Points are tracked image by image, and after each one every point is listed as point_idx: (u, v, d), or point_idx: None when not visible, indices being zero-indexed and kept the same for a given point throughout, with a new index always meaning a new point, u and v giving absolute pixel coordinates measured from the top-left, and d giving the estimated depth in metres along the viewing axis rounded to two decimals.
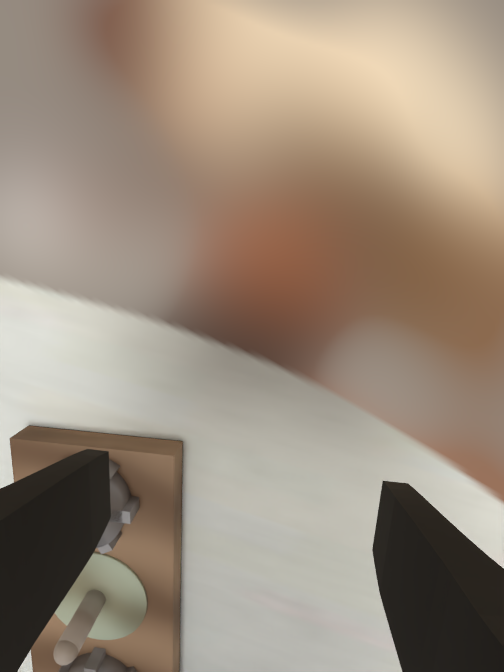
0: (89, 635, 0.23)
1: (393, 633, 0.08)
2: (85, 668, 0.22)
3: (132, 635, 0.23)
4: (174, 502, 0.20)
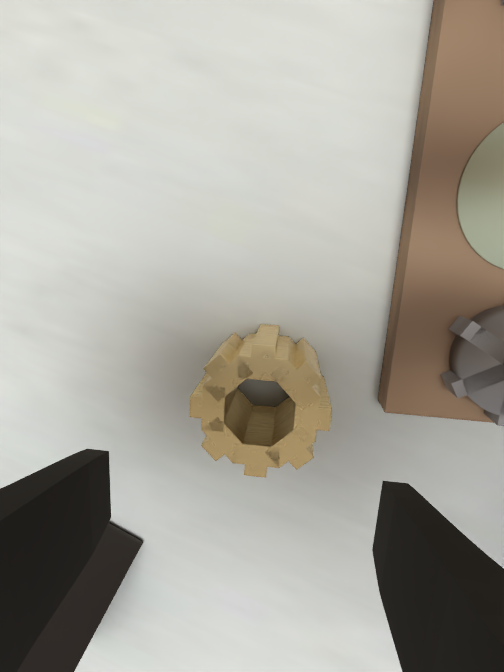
0: None
1: (393, 633, 0.08)
2: None
3: None
4: None
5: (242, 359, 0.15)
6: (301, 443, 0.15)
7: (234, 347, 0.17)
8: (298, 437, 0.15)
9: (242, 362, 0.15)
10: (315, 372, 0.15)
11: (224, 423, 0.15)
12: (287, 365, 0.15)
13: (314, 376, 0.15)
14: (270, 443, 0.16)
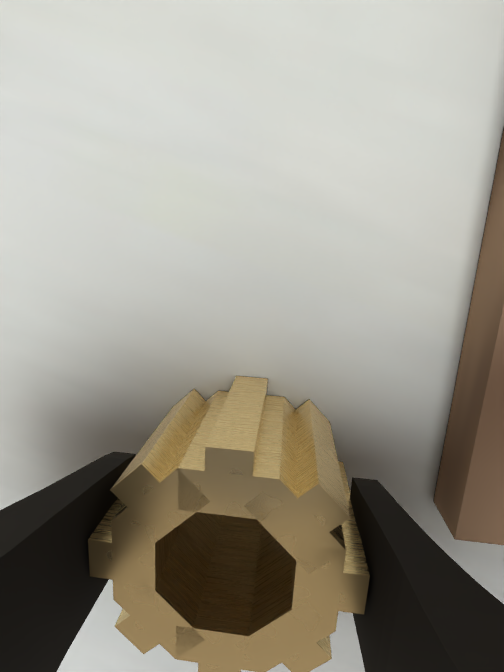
0: None
1: (357, 627, 0.08)
2: None
3: None
4: None
5: (187, 474, 0.07)
6: (307, 633, 0.08)
7: (185, 426, 0.09)
8: (301, 622, 0.08)
9: (187, 481, 0.07)
10: (337, 504, 0.07)
11: (157, 589, 0.08)
12: (278, 489, 0.07)
13: (335, 512, 0.07)
14: (248, 622, 0.08)
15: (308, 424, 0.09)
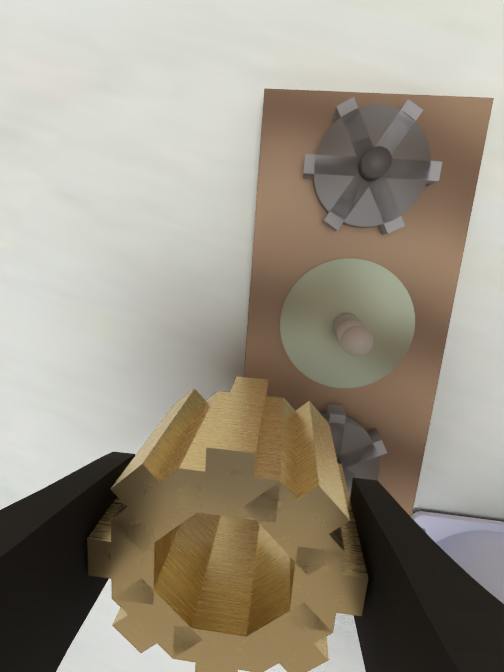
0: (327, 383, 0.18)
1: (358, 627, 0.08)
2: (332, 414, 0.17)
3: (382, 382, 0.18)
4: (477, 175, 0.16)
5: (188, 475, 0.07)
6: (305, 634, 0.08)
7: (185, 426, 0.09)
8: (299, 623, 0.08)
9: (188, 481, 0.07)
10: (337, 507, 0.07)
11: (155, 588, 0.08)
12: (278, 490, 0.07)
13: (334, 514, 0.07)
14: (245, 622, 0.08)
15: (308, 426, 0.09)
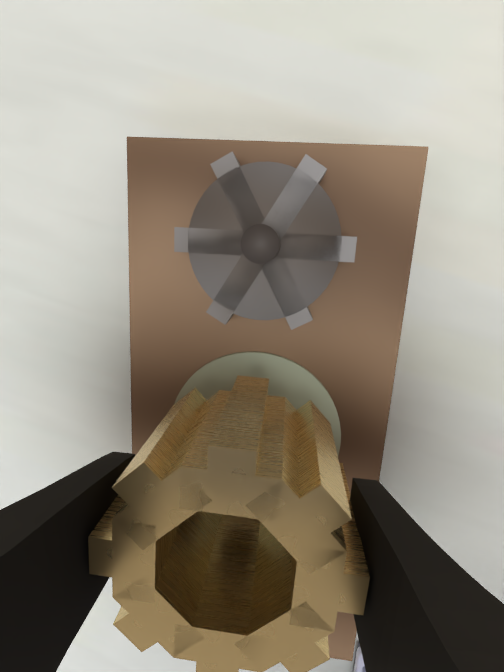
0: None
1: (358, 627, 0.08)
2: None
3: None
4: (412, 246, 0.12)
5: (189, 473, 0.07)
6: (306, 633, 0.08)
7: (186, 425, 0.09)
8: (300, 622, 0.08)
9: (189, 479, 0.07)
10: (339, 505, 0.07)
11: (156, 587, 0.08)
12: (281, 489, 0.07)
13: (336, 513, 0.07)
14: (246, 621, 0.08)
15: (309, 425, 0.09)
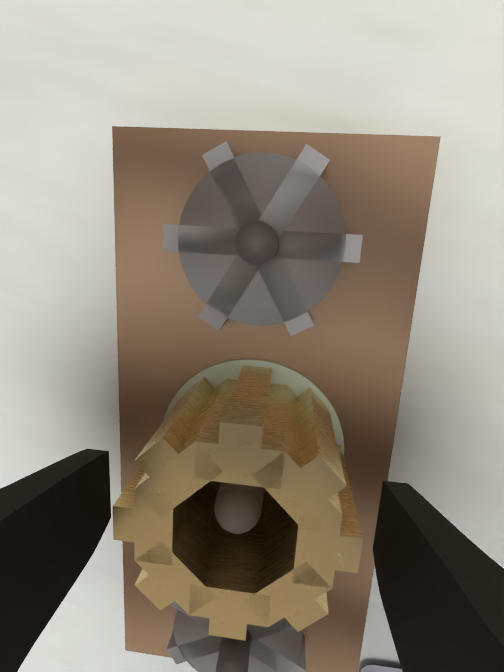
0: None
1: (393, 633, 0.08)
2: None
3: None
4: (422, 245, 0.11)
5: (203, 447, 0.08)
6: (307, 590, 0.09)
7: (197, 409, 0.10)
8: (302, 580, 0.09)
9: (203, 453, 0.08)
10: (335, 474, 0.08)
11: (173, 551, 0.09)
12: (283, 460, 0.08)
13: (333, 481, 0.08)
14: (254, 582, 0.09)
15: (309, 408, 0.10)
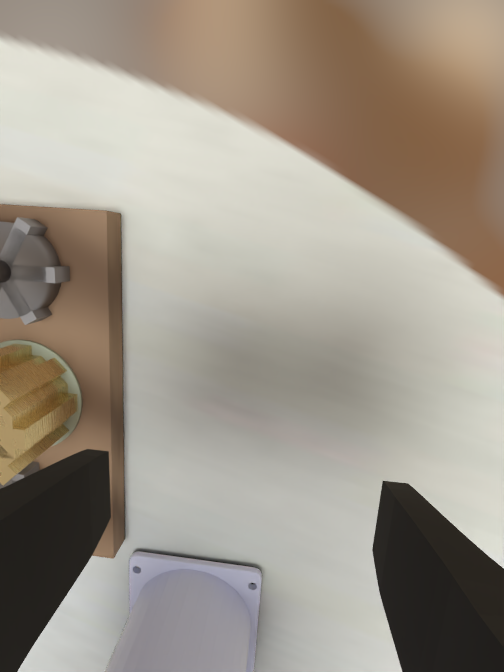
0: None
1: (393, 633, 0.08)
2: None
3: (67, 444, 0.20)
4: (108, 272, 0.18)
5: None
6: (3, 461, 0.16)
7: None
8: None
9: None
10: (4, 395, 0.15)
11: None
12: None
13: (4, 398, 0.15)
14: None
15: (34, 367, 0.18)
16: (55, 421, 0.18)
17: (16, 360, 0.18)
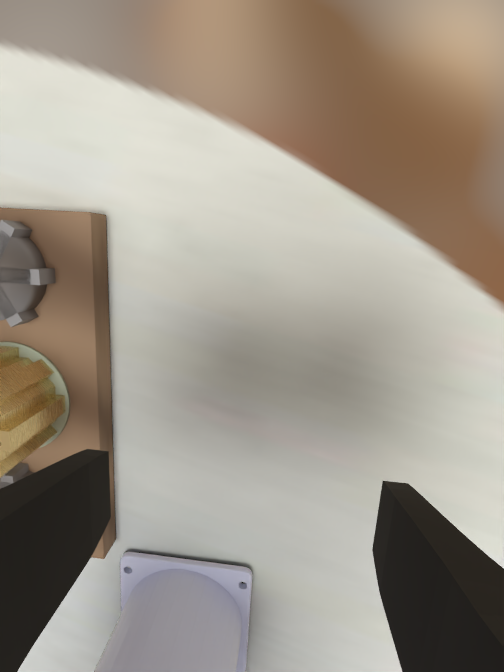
0: None
1: (393, 633, 0.08)
2: None
3: (56, 445, 0.21)
4: (93, 274, 0.18)
5: None
6: None
7: None
8: None
9: None
10: None
11: None
12: None
13: None
14: None
15: (20, 369, 0.18)
16: (42, 422, 0.18)
17: (2, 362, 0.18)
